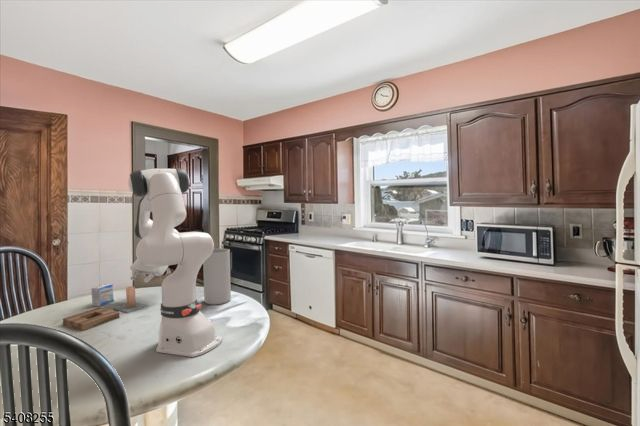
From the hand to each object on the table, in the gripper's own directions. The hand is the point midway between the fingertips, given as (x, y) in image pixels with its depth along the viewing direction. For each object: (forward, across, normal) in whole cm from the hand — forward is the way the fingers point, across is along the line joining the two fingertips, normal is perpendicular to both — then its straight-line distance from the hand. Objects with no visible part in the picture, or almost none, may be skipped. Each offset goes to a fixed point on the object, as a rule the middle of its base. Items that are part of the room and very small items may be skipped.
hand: (138, 280), depth 149 cm
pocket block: (+23, 0, -7) cm, 24 cm away
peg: (+11, 0, +5) cm, 12 cm away
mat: (+11, 0, +5) cm, 12 cm away
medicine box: (+13, -18, +4) cm, 22 cm away
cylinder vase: (-6, +30, +22) cm, 38 cm away
